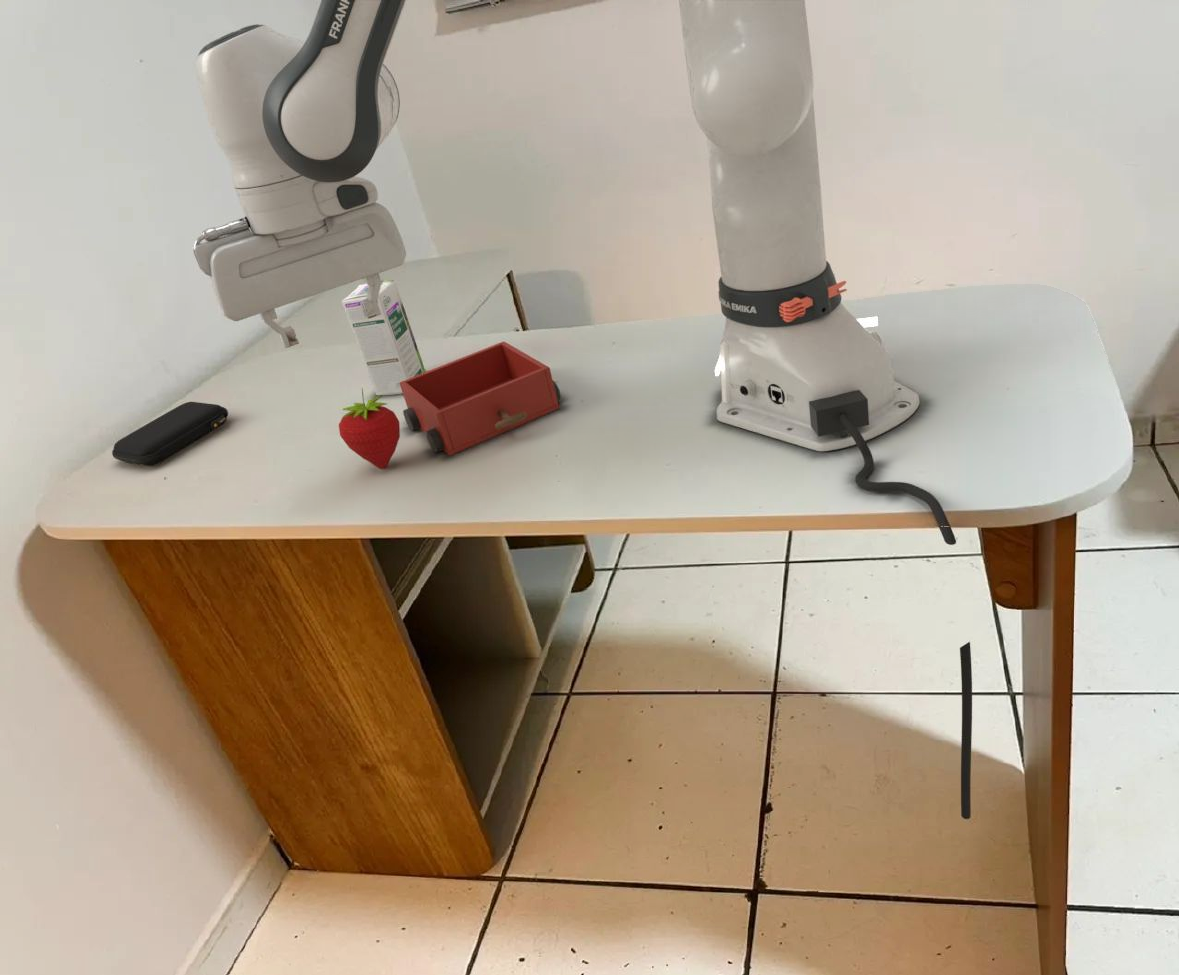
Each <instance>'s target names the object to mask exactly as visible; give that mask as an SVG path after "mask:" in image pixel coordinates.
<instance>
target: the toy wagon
mask: <svg viewBox="0 0 1179 975" xmlns="http://www.w3.org/2000/svg"><path fill="white" fill-rule="evenodd" d="M399 384H400V387H401V390H402V396H403V399H404V402H405V404H406V407H407V408H406V409H403V411H402V413H403V414H402V415H403V417H404V420H405V422H406V424H407V426H408V428H409V429H410V430H411V431H412V432H413V431H416V430H418V429H420V430H421V431H422V432H423V433H424V434H425V436H426V439H427V442H428V444H429V446H430V448H431V449H432V451H433V452H434V453H436V454H437V453H439V452H441V451H444V452H445V453H446V454H447V455H448V456H453V455H455V454H457V453H459V452H462V451H464V450H466V449H469V448H471V447H473V446H476V445H478V444H480V443H483V442H485V441H487V440H489V439H492V438H494V437H497V436H499V435H501V434H504V433H506V432H508V431H511V430H513V429H515V428H518V427H520V426H522V425H524V424H526V423H529V422H531V421H534V420H536V419H538V418H541V417H544V416H545V415H547V414H550V413H553V412H554V411H556V410H559V409H560V404H559V401H560V400H561V397H562V396H561V392H560V389H559V386H558V384H557V383H556V381H554V380H553V376H552V372H551V367H549V366H548V365H547V364H545V363H543V362H541V361H539V360H537V359H535V358H534V357H532V356H530V355H529V354H527V353H525V352H523V351H522V350H520V349H518V348H516V347H515V346H513V345H511V344H510V343H508V342H506V341H503V340H502V341H501V342H499V343H495V344H493V345H491V346H488V347H486V348H485V347H484V348H483V349H480V350H478V351H476V352H472V353H470V354H468V355H465V356H463V357H460V358H458V359H455V360H453V361H449V362H448V363H444V364H443V365H440V366H438V367H435V368H432V369H430V370H427V371H426V372H424V373H422V374H419V375H417V376H414V377H412V378H409V379H407V380H404V381H402V382H400V383H399Z"/></svg>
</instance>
